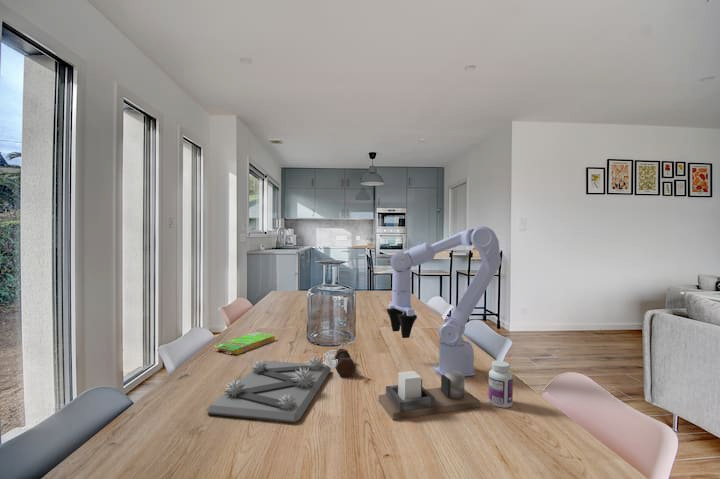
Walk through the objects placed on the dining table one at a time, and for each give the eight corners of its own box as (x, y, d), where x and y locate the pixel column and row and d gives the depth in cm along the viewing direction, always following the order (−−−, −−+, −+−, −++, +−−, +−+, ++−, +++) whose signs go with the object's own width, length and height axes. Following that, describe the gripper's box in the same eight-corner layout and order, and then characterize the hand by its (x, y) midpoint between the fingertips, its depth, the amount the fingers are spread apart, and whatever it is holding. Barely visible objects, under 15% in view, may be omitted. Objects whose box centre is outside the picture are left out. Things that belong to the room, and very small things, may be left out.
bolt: (343, 364, 114) (348, 381, 99) (330, 357, 113) (333, 373, 98) (352, 348, 114) (358, 363, 99) (339, 341, 114) (343, 355, 99)
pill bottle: (503, 397, 87) (503, 358, 87) (517, 407, 82) (517, 366, 82) (483, 399, 86) (484, 360, 86) (496, 409, 81) (497, 367, 81)
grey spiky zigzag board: (262, 367, 106) (262, 344, 106) (331, 372, 103) (331, 348, 103) (203, 417, 76) (203, 385, 76) (298, 427, 73) (298, 393, 73)
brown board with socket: (458, 391, 90) (458, 365, 90) (480, 407, 82) (480, 379, 82) (378, 401, 84) (378, 374, 84) (392, 420, 75) (393, 390, 75)
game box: (275, 343, 133) (233, 356, 114) (255, 339, 137) (212, 352, 119) (275, 335, 133) (233, 347, 115) (256, 331, 137) (212, 342, 119)
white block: (415, 395, 84) (415, 370, 84) (422, 403, 80) (423, 377, 80) (397, 397, 83) (398, 372, 83) (404, 405, 79) (405, 378, 79)
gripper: (381, 287, 115) (380, 329, 115) (398, 294, 101) (398, 341, 101) (401, 287, 117) (400, 327, 117) (420, 294, 103) (420, 340, 103)
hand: (400, 334), depth 109 cm, fingers open, 7 cm apart
